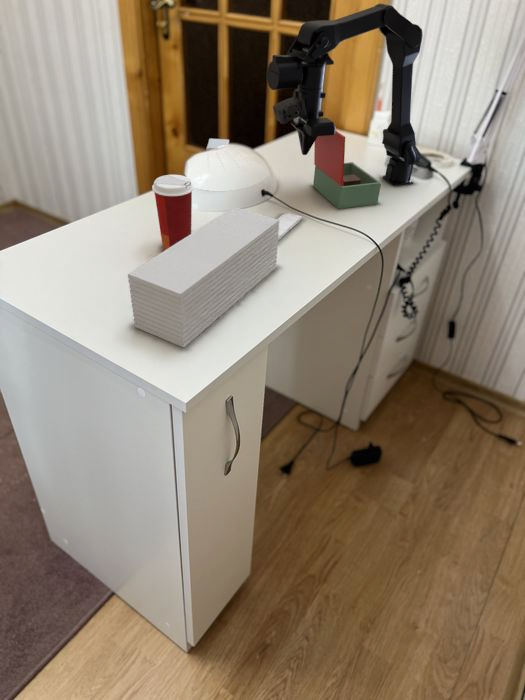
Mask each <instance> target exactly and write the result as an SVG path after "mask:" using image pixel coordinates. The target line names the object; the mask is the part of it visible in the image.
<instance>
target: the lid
mask: <svg viewBox="0 0 525 700" xmlns="http://www.w3.org/2000/svg"><path fill="white" fill-rule="evenodd" d="M313 152H314V156H313V157H314V158H313V159H314V161H313V164H314V167H315V166H317V167H318V168H319V169H320V170H322V171H323V172H324V173H325V174H327V175H328V176H329V177H330V178H331V179H333V180H334V181H335V182H336V183H338V184H339V185H340V186H343V177H344V163H345V153H346V136H345V135H343V134H342V133H340V132H338V131H337V130H336V131H335V135H329V136H318V137H317V139H316V140H315V142H314V151H313Z"/></svg>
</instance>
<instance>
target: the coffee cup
mask: <svg viewBox="0 0 525 700" xmlns="http://www.w3.org/2000/svg"><path fill="white" fill-rule="evenodd" d="M151 188H152V191H153V192H154V199H155V205H156V211H157V218H158V219H157V220H158V225H159V232H160V238H161V244H162V249H163V251H165V250H166V249H168V248H170V247H171V246H173V245H174V244H176V243H177V242H179V241H181V240H182V239H184V238H185V237H187V236H188V235H190V234H192V212H193V211H192V209H193V208H192V207H193V205H192V204H193V202H192V201H193V200H192V199H193V196H192V195H193V190H194V185H193V184H192V181H191V179H190V178H189V177H187V176H185V175H181V174H166V175H161V176H159V177H157V178H156V179H155V180H154V181H153V184H152V186H151Z"/></svg>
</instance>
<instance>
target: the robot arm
mask: <svg viewBox="0 0 525 700" xmlns="http://www.w3.org/2000/svg"><path fill="white" fill-rule="evenodd" d="M377 29H378V31H379V32H380V33H381V34H382V36H384V37H385V43H386V51H387V52H386V53H387V54H388V57H389V58H390V62H391V64H392V77H391V112H390V113H391V115H390V117H391V118H390V123H389V125H388V126H387V128H385V129H382V142H381V144H382V145H383V147H384V149H385V153H386V156H388V157H389V161H388V163H387V165H386V169H385V175H382V179H384V180H386V181H387V182H389V183H390V184H391V185H393V186H402V185H411V184H414V180H412V179H411V177H412V174H413V169H414V165H416V164H418V163H419V162H420V161H421V159H422V154H421V152H420V150H419V149H418V147H417V146H416V145H417V139H416V132H415V130H414V127H413V124H412V123H411V115H412V98H413V97H412V94H413V78H414V77H413V74H414V63H415V61H416V59H417V58H418V56H419V54H420V52H421V47H422V41H423V29H422V27H420V25H418V24H415V23H412V22H411V21H410V20H409V19H407V18H406V17H405V16H404V15H402V14H401V13H399V12H398V10H397V9H396V8H395V7H394V6H393V5H391V4H386V3H378V4H375V5H374V6H371V7H369V8H366V9H363V10H360V11H357V12H353V13H351V14H349V15H346V16H342V17H340V18H336V19H331V20H329V19H328V20H327V19H326V20H323V19H321V20H309V21H306V22H304V23H303V24H301V26H300V29H299V30H298V33H297V36H296V38H295V39H294V41H293V42H292V44H291V46H290V48H289V49H288V51H287V52H286V54H285V55H281V54H273V55H272V58H271V61H270V62H269V64H268V66H267V69H266V82H267V85H268V87H269V89H270V90H271V91H278V90H289V89H294V91H293V92H292V93H293V94H292V97H289V98H286V99H284V100H281V101H280V102H277V103H275V104H274V105H273V106H272V109H273V113H274V117H275V120H276V121H278V122H279V123H280V124H281V125H285V124H288V123H289V122H290V125H292V126H293V127H294V129H295V130H296V131H297V135H298V140H299V147H300V151H301V155H303V156H307V155H308V154H309V152H310V151H311V148H312V147H313V145H314V144H315V140H316V139H317V137H318V136H329V135H335V131H337V125H336V124H335V123H334V122H333V121H332V120H330V119H329V118H327V117H324V111H323V110H321V109H322V101H323V99H325V98H326V95H327V94H326V92H325V91H323V90H324V81H325V70H326V66H332V65H334V64H335V61H334V60H333V59H332V58H331V56H330V55H329V52H332V51H333V50H335V49H336V48H337V47H338V46H339V44H340V43H342V42H344V41H347V40H348V39H349V40H350V39H352V38H355V37H357V36H360V35H363V34H366V33H369V32H371V31H375V30H377Z"/></svg>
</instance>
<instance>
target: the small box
mask: <svg viewBox="0 0 525 700" xmlns="http://www.w3.org/2000/svg"><path fill="white" fill-rule="evenodd" d="M230 141H231V140H230V139H226V138H209V139H208V143H207V146H206V148H205V151H208V150H210V149H214V148H215V147H217V148H218V146H221V145H227V144H231V143H230Z"/></svg>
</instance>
